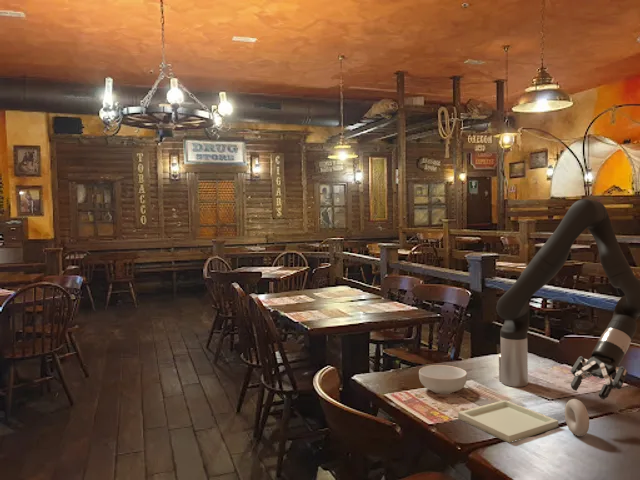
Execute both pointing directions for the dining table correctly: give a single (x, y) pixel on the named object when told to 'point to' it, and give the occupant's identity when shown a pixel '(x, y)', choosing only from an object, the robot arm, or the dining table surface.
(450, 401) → the dining table surface
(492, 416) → the tray
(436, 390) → the cereal bowl
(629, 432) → the dining table surface
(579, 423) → the donut
